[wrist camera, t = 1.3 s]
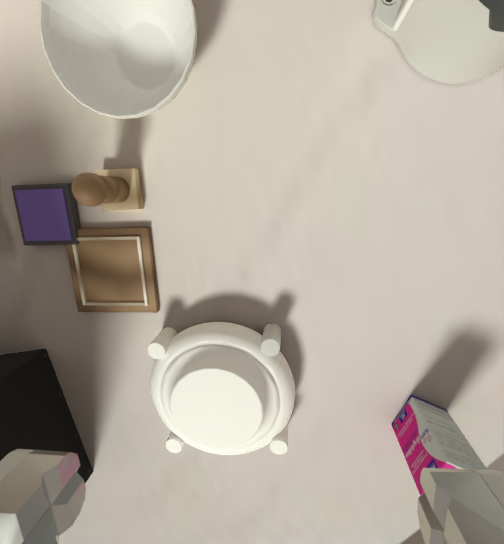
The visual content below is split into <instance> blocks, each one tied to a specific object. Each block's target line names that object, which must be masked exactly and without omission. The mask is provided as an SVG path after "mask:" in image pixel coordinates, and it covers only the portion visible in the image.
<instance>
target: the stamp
mask: <svg viewBox="0 0 504 544" xmlns="http://www.w3.org/2000/svg"><path fill="white" fill-rule="evenodd" d="M72 193H73V195H74V197H75V199H76V200H77V201H78V202H80V203H81V204H83V205H86V206H92V207H93V206H98V205H100V204H102V210H124V209H143V208H144V204H143V195H142V187H141V178H140V170H139V169H136V168H129V169H107V170H97V175H96V174H93V173H82V174H80V175H78V176H77V177H76V178H75V179H74V180H73V182H72Z"/></svg>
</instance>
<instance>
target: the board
mask: <svg viewBox="0 0 504 544" xmlns="http://www.w3.org/2000/svg"><path fill="white" fill-rule="evenodd" d="M77 232H78V238H77V241H79V244H68V245H66V246H67V252H68V257H69V263H70V268H71V274H72V279H73V284H74V290H75V295H76V301H77V306H78V312H158V311H159V305H158V296H157V287H156V278H155V270H154V261H153V252H152V244H151V235H150V227H134V228H86V229H77Z"/></svg>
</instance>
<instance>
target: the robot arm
mask: <svg viewBox="0 0 504 544" xmlns="http://www.w3.org/2000/svg"><path fill="white" fill-rule="evenodd" d="M372 20H373V22H374V24H375V25H376V26H377V27H378V28H379V29H380V30H381V31H382V32H384V33H385V34H387V35H388V36H390V37H392V38H393V39H394V40H395V42H396V43H397V45H398V46H399V48H400V50H401V52H402V53H403V55H404V57H405V58H406V60H407V61H408V62H409V64H410V65H411V66H412V67H413V68H414V69H415V70H417V71H418V72H419V73H421V74H422V75H424V76H425V77H427V78H429V79H432V80H435V81H438V82H443V83H452V84H456V83H466V82H471V81H475V80H478V79H480V78H483V77H485V76H487V75H489V74H491V73H493V72H495V71H496V70H498V69H500V68H501V67H502V66H504V0H392V1H391V2H386V0H375V3H374V7H373V12H372ZM79 467H80V461H79V458H78V454H76V453H72V452H61V451H48V450H29V449H17V450H14V451H12V452H10V453H9V454H7V455H6V456H5V457H4V458H3V459H2V460H1V461H0V544H59V535H61V534H62V533H63V532H65V531H66V530H67V529H68V528H70V527H71V526H72V525H73V523H74V522H75V520H76V518H77V517H78V515H79V513H80V511H81V508H82V505H83V502H84V499H85V489H86V488H85V483H84V479H83V478H82V477H81V476H80V475H79V474H78V473H77V470H78V468H79ZM420 483H421V486H422V488H423V490H424V493H423V494H422V495H421V496H420V497H419V498H418V517H419V524H420V529H421V532H422V536H423V539H424V542H425V544H504V473H502V472H501V471H499V470H470V469H445V468H423V470H422V472H421V476H420Z"/></svg>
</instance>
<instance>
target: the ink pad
mask: <svg viewBox="0 0 504 544" xmlns="http://www.w3.org/2000/svg"><path fill="white" fill-rule="evenodd" d="M12 191H13V195H14V200H15V205H16V209H17V214H18V218H19V223H20V227H21V232H22V237H23V241H24V245H68V244H79V241H77V238H78V232H77V229H81V227H80V222H79V216H78V210H77V204H76V199H75V197H74V195H73V193H72V184H43V185H17V186H12Z"/></svg>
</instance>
